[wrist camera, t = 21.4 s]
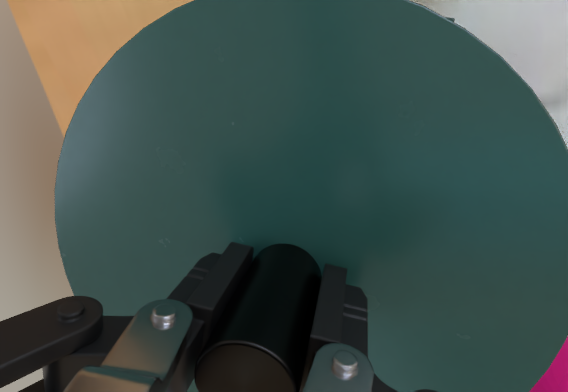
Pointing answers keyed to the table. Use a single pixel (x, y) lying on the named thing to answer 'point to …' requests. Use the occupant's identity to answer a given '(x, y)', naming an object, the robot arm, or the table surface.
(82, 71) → the table surface
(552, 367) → the pepper mill
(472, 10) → the table surface
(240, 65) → the pot lid
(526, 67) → the table surface
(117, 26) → the table surface
